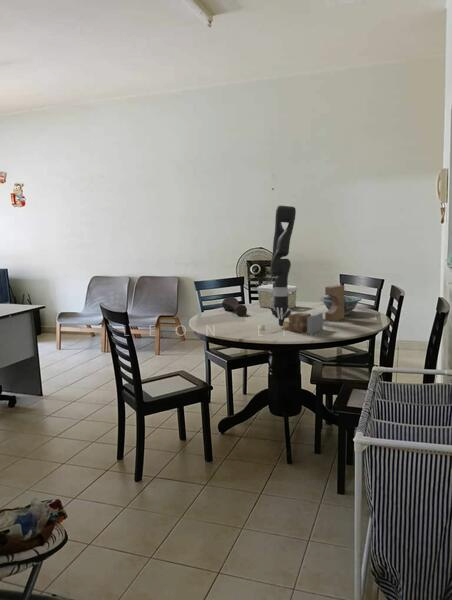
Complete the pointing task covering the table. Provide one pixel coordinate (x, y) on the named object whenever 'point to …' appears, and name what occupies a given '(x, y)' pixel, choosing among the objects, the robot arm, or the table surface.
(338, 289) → the decorative block
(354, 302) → the bowl
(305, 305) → the table surface
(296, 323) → the socket block
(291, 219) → the robot arm
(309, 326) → the wall
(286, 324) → the tan wooden block
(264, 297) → the storage basket
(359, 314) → the table surface
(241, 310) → the dark brown bone
